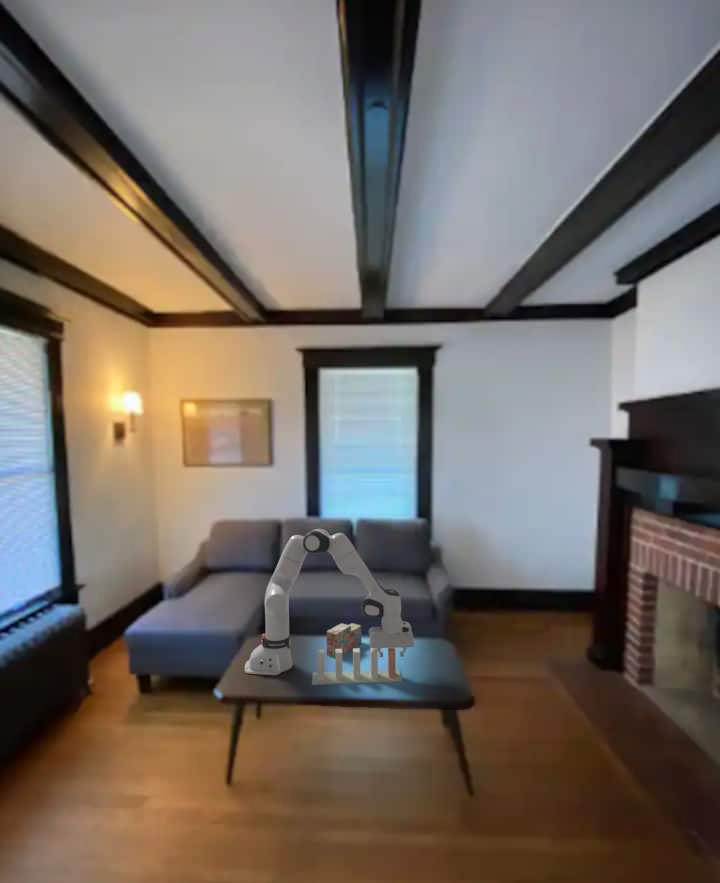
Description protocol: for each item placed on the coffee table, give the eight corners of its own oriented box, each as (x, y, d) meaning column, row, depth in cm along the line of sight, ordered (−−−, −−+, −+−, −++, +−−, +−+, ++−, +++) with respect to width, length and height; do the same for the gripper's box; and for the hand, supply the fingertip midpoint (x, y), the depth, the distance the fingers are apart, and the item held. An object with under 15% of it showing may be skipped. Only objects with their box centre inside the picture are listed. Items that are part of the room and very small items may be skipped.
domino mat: (311, 685, 210) (311, 683, 210) (312, 673, 220) (312, 672, 220) (402, 681, 212) (402, 680, 212) (399, 670, 222) (399, 669, 222)
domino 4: (371, 678, 214) (370, 651, 214) (370, 673, 218) (370, 647, 218) (378, 677, 214) (377, 651, 214) (377, 673, 218) (376, 647, 218)
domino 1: (317, 680, 213) (317, 653, 213) (318, 675, 217) (317, 649, 217) (324, 679, 213) (324, 653, 213) (324, 675, 217) (324, 649, 217)
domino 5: (388, 677, 215) (388, 651, 214) (387, 673, 219) (387, 647, 218) (395, 677, 215) (395, 650, 215) (394, 672, 219) (394, 646, 219)
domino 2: (335, 679, 213) (335, 652, 213) (335, 675, 217) (335, 648, 217) (342, 679, 213) (342, 652, 213) (342, 674, 217) (342, 648, 217)
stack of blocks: (352, 640, 255) (351, 617, 255) (361, 643, 252) (361, 619, 252) (326, 655, 238) (326, 630, 238) (336, 658, 234) (336, 633, 234)
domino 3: (353, 678, 214) (353, 652, 213) (353, 674, 218) (353, 648, 217) (360, 678, 214) (360, 652, 214) (359, 674, 218) (359, 648, 218)
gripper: (369, 629, 213) (369, 660, 213) (414, 628, 214) (414, 658, 214) (368, 624, 219) (368, 653, 219) (412, 622, 220) (412, 652, 220)
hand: (391, 656), depth 217 cm, fingers open, 8 cm apart
